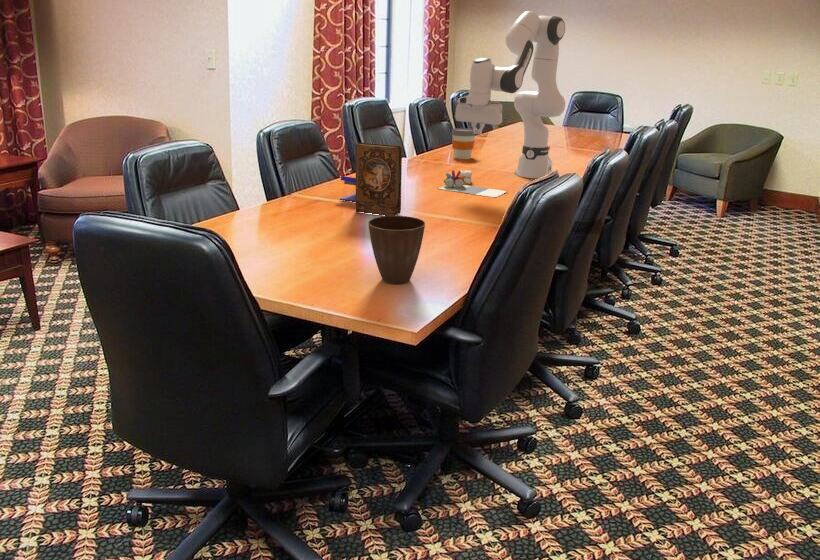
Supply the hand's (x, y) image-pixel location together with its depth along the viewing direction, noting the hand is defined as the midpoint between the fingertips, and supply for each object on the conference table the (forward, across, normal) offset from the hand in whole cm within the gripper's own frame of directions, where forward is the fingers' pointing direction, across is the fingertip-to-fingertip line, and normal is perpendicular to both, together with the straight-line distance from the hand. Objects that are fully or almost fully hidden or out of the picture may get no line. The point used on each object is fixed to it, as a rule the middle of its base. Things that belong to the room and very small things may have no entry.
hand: (477, 133), depth 288 cm
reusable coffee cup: (+24, +42, -71) cm, 86 cm away
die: (+24, +11, -13) cm, 29 cm away
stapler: (+24, +30, +36) cm, 53 cm away
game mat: (+24, 0, 0) cm, 24 cm away
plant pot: (+24, -33, +115) cm, 122 cm away
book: (+24, +11, +58) cm, 64 cm away
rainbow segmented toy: (+24, +10, -1) cm, 26 cm away
